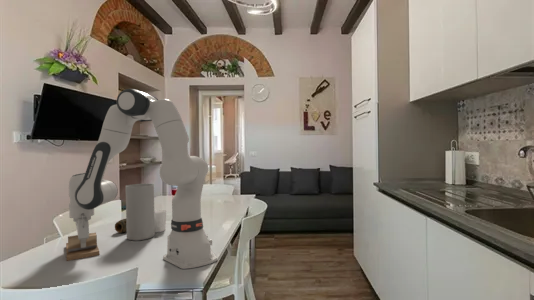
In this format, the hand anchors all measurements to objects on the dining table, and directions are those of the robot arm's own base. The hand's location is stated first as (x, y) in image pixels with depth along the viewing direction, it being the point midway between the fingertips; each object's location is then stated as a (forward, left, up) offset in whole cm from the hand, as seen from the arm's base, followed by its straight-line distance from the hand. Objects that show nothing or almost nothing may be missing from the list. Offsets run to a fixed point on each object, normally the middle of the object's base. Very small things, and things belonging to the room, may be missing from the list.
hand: (82, 245), depth 126 cm
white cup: (+15, -34, -3) cm, 37 cm away
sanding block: (0, 0, -1) cm, 1 cm away
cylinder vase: (+8, -24, -3) cm, 26 cm away
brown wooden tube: (+26, -22, -3) cm, 34 cm away
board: (+2, 0, -3) cm, 4 cm away
